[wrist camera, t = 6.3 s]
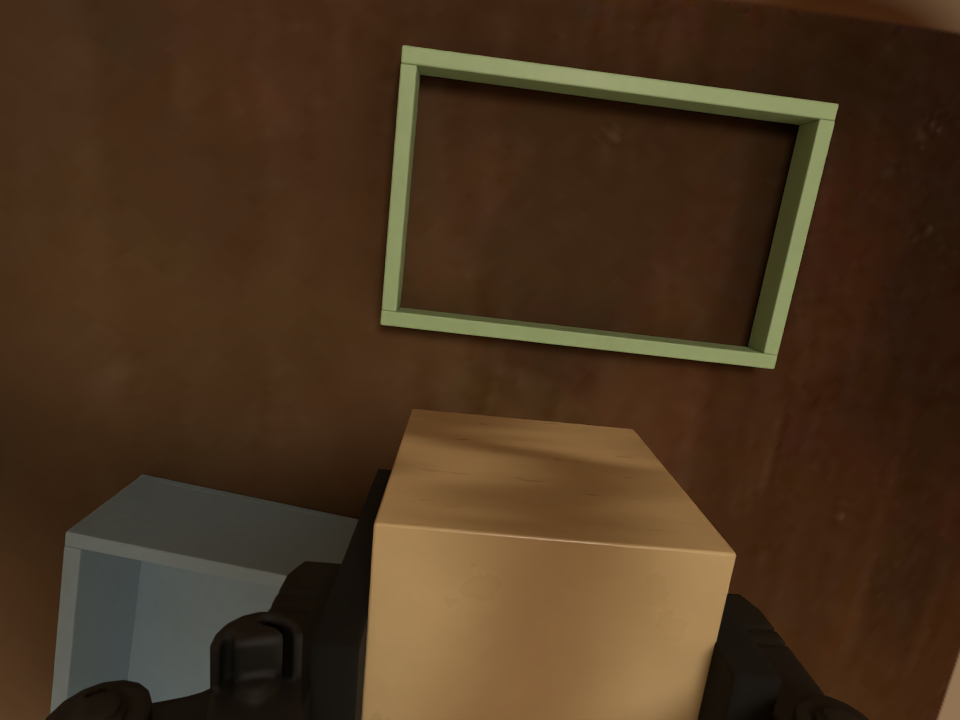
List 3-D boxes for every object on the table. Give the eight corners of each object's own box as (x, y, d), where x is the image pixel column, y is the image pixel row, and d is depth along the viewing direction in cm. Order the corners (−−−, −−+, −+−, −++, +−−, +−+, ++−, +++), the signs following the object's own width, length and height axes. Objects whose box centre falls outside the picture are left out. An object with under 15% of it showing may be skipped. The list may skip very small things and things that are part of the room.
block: (396, 604, 16) (353, 817, 10) (412, 408, 15) (373, 523, 9) (600, 620, 16) (673, 837, 10) (633, 428, 15) (737, 553, 9)
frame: (385, 319, 31) (380, 324, 29) (406, 55, 28) (402, 44, 26) (757, 361, 32) (774, 369, 30) (817, 111, 29) (839, 103, 27)
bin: (142, 473, 33) (65, 531, 27) (478, 544, 34) (480, 614, 28) (110, 747, 38) (37, 853, 31) (408, 799, 39) (397, 910, 33)
